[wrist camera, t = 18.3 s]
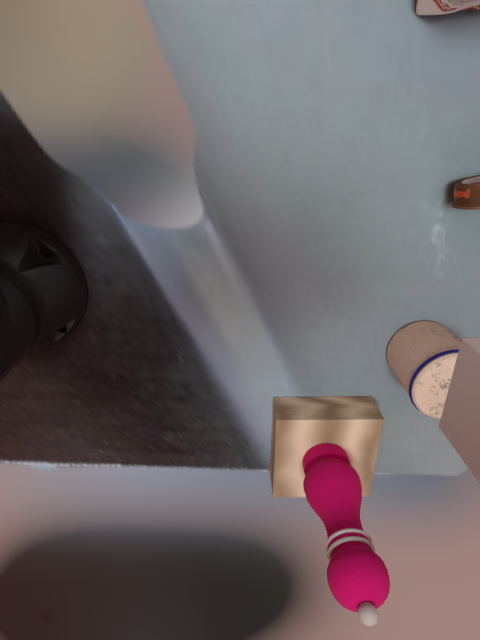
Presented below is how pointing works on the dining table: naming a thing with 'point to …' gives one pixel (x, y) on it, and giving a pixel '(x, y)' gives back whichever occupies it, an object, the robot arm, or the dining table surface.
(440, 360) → the teacup with lid
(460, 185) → the tin
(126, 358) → the dining table surface
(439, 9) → the juice carton
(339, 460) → the pepper mill
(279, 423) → the birch block
